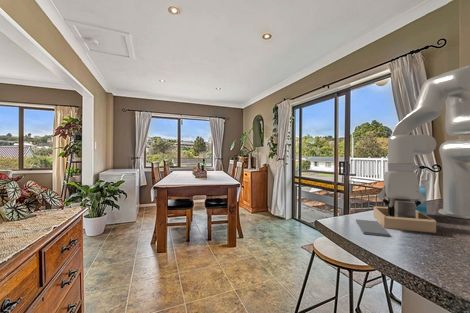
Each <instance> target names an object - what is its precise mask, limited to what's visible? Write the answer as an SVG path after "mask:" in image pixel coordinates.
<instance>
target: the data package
mask: <svg viewBox="0 0 470 313" xmlns="http://www.w3.org/2000/svg"><path fill="white" fill-rule="evenodd" d="M419 191H420V192H421V193H422V195H423V196H424V197H425V198H426V199H427V190H426V186H420V185H419ZM414 201H416V200H414ZM427 205H428V204H427V200H426V201H424V202H422V203H421V204H420V205H418V206H417V208H415V210H417V211H419V212H421V213H423V214H425V215H427V216H428V212H427V210H428V209H427V208H428V206H427Z"/></svg>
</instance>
